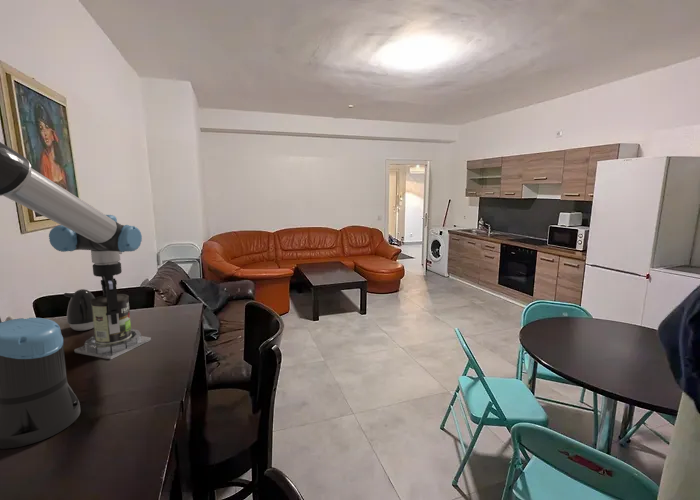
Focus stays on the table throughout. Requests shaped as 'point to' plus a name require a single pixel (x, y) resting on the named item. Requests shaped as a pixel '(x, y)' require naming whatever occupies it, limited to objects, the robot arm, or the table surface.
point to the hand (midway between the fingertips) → (112, 327)
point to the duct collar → (112, 346)
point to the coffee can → (102, 321)
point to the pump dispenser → (80, 310)
